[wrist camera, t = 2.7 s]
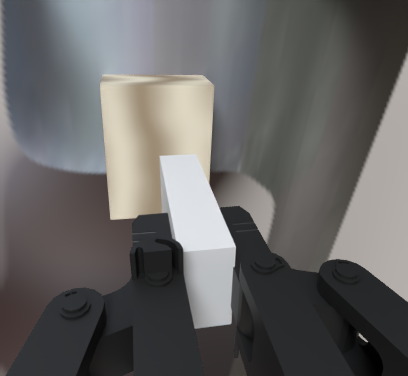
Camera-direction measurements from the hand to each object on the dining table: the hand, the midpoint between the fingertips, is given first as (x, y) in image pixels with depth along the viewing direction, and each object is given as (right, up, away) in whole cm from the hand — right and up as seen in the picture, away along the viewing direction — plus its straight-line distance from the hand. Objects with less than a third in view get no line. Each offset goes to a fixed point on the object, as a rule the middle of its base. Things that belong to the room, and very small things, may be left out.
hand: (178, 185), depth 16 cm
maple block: (-4, +5, +21) cm, 22 cm away
